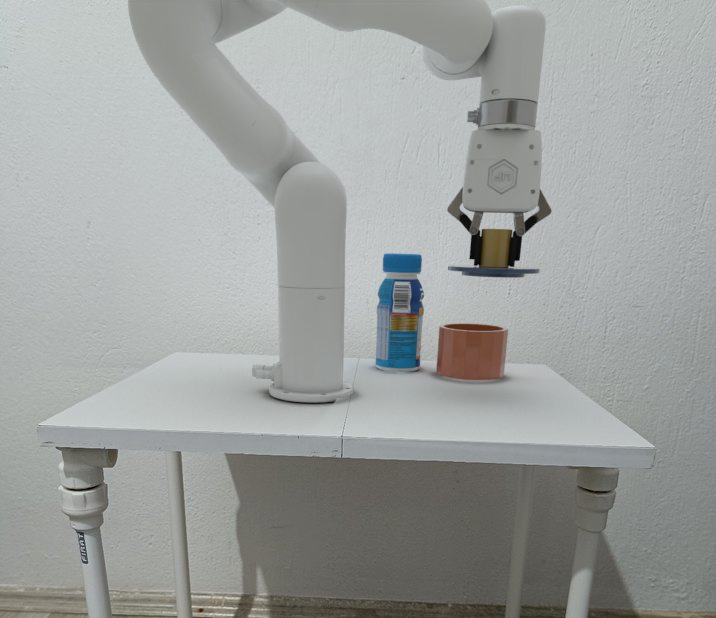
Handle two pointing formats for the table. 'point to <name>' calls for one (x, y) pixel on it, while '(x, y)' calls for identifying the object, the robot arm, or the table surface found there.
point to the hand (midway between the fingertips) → (493, 264)
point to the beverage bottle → (400, 314)
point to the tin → (471, 351)
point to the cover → (494, 257)
